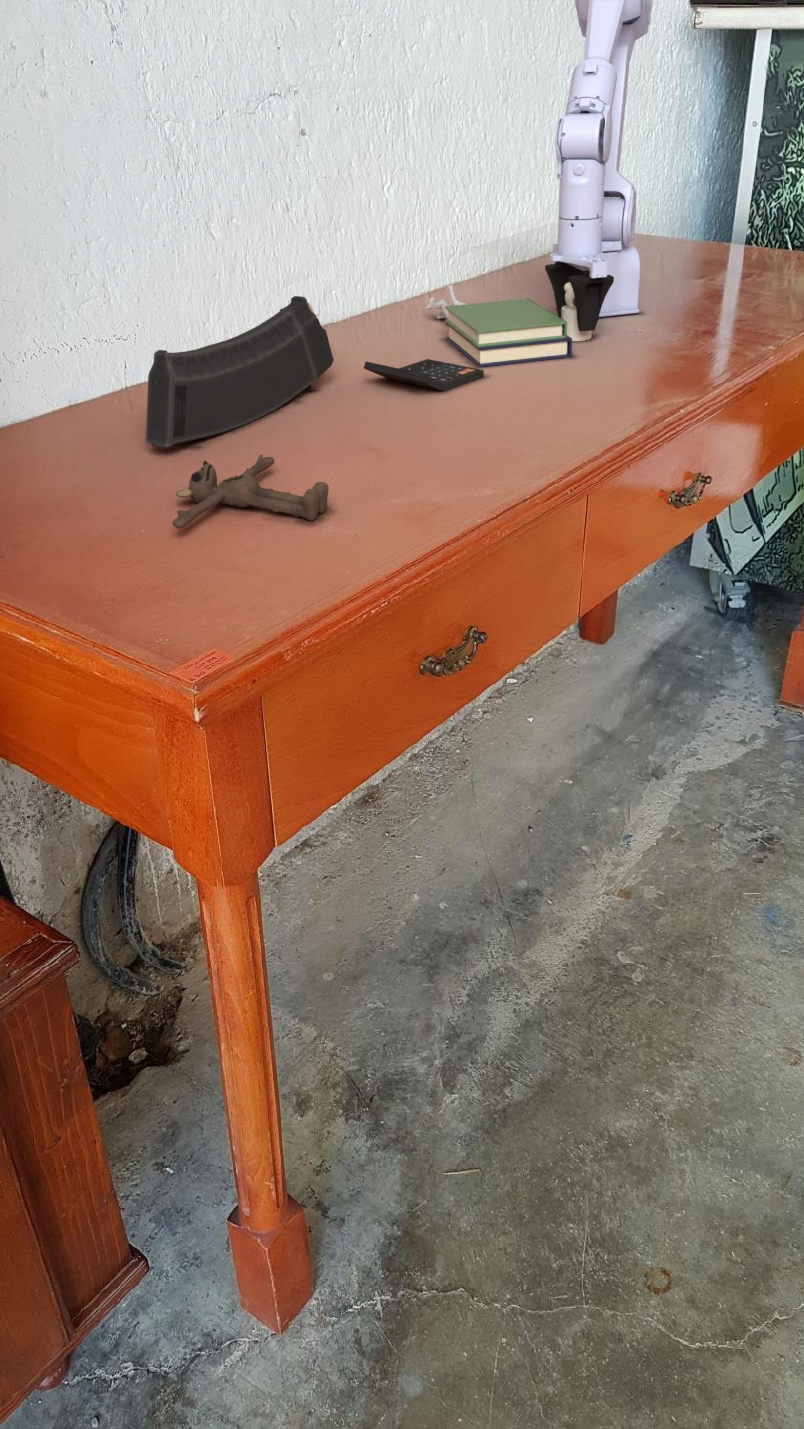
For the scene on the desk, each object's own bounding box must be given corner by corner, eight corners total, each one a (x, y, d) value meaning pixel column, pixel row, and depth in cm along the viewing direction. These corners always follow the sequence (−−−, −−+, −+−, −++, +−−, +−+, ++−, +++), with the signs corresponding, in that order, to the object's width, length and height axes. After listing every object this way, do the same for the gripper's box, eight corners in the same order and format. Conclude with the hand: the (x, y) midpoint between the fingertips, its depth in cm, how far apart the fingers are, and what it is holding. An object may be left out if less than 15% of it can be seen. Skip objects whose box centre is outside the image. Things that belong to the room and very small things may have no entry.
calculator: (483, 377, 142) (483, 352, 141) (420, 399, 135) (420, 374, 134) (427, 365, 148) (426, 341, 146) (364, 386, 141) (363, 362, 139)
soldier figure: (458, 321, 172) (512, 306, 162) (446, 349, 171) (500, 335, 161) (422, 289, 167) (476, 271, 158) (410, 317, 166) (462, 301, 157)
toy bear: (560, 334, 159) (562, 279, 155) (591, 333, 158) (593, 278, 155) (560, 341, 155) (562, 286, 151) (592, 341, 155) (594, 285, 151)
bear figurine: (274, 522, 97) (128, 488, 101) (275, 567, 99) (132, 533, 103) (361, 453, 111) (229, 426, 115) (360, 494, 113) (231, 467, 117)
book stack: (531, 330, 161) (531, 297, 159) (571, 357, 148) (572, 322, 146) (445, 339, 159) (444, 306, 157) (478, 367, 146) (478, 332, 144)
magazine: (140, 379, 114) (303, 237, 130) (116, 376, 116) (281, 236, 131) (195, 517, 126) (339, 372, 142) (173, 512, 128) (317, 369, 143)
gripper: (532, 211, 154) (531, 315, 161) (571, 227, 142) (568, 339, 149) (582, 207, 155) (578, 310, 163) (624, 222, 143) (618, 333, 150)
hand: (576, 324), depth 156 cm, fingers open, 7 cm apart
